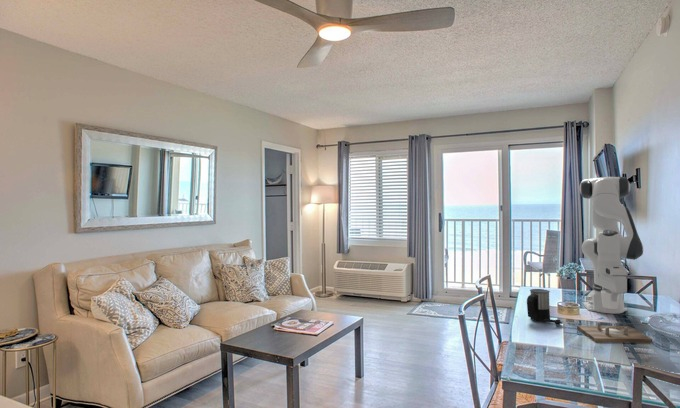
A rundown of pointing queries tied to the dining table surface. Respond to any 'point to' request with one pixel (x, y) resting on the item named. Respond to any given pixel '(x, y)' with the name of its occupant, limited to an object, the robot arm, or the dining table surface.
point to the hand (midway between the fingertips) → (610, 299)
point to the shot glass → (609, 300)
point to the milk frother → (540, 306)
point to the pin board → (614, 334)
